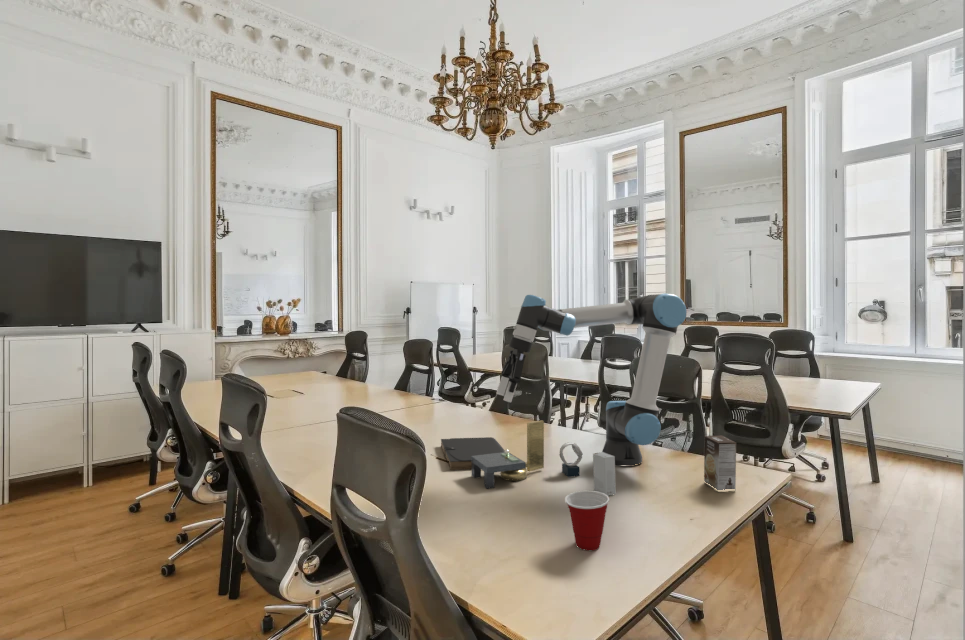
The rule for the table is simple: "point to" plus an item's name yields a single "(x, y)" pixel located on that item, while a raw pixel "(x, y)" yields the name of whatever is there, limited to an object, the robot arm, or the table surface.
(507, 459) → the levelling stand
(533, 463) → the brass panel with base
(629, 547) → the table surface
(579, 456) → the watch
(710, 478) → the coffee box
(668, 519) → the table surface
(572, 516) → the plastic cup
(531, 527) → the table surface
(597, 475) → the skincare box
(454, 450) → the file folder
